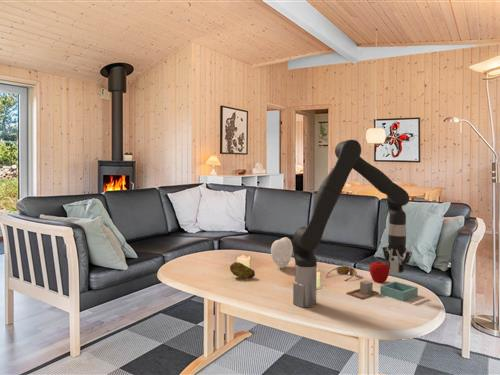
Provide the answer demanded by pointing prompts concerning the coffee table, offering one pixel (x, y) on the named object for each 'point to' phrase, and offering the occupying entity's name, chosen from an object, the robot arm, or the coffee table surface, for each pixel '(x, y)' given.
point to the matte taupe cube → (394, 266)
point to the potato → (242, 271)
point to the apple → (379, 271)
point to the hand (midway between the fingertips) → (396, 271)
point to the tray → (361, 294)
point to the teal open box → (399, 291)
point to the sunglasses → (345, 271)
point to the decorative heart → (281, 252)
